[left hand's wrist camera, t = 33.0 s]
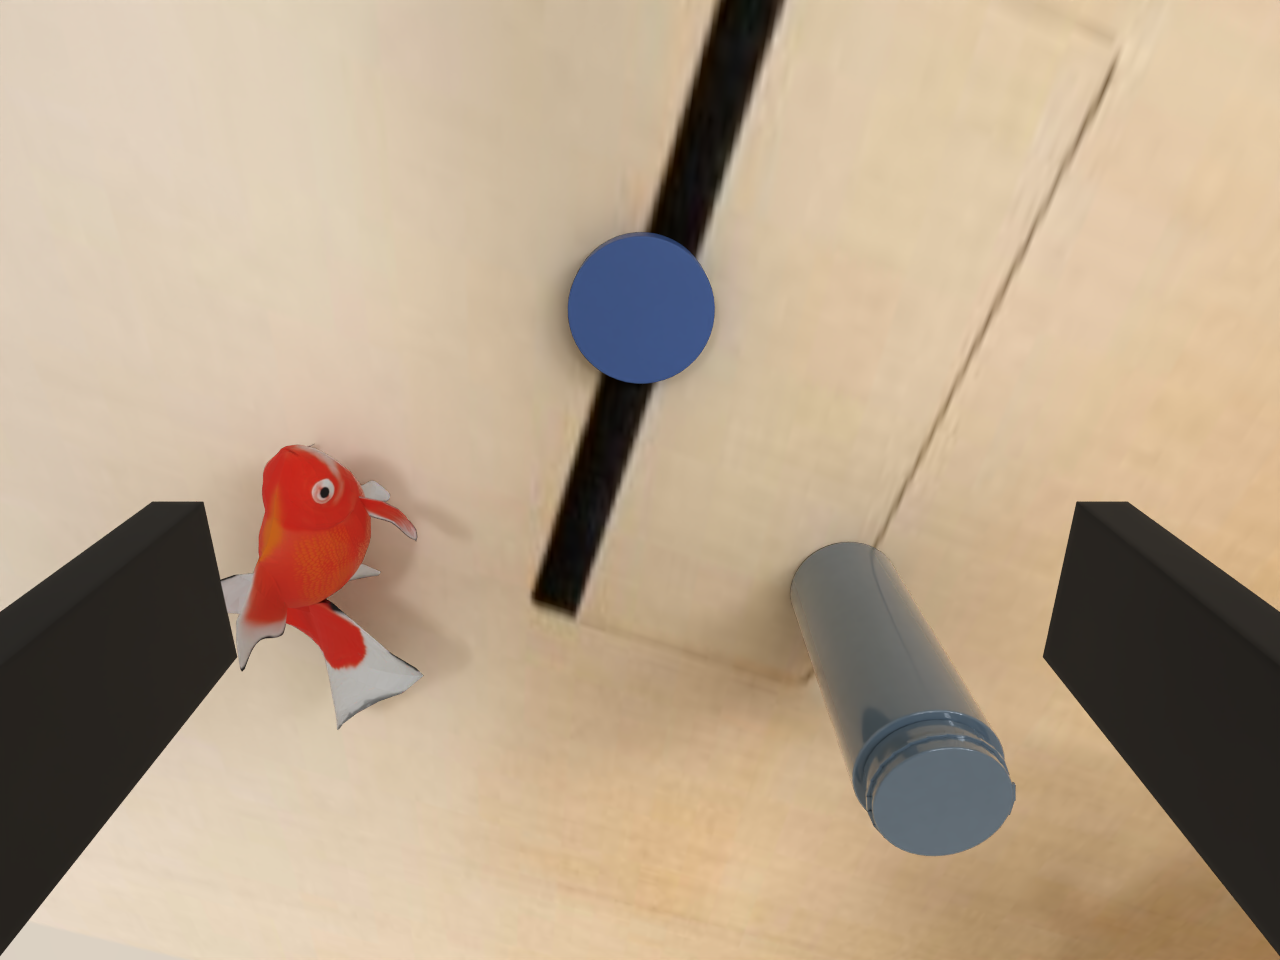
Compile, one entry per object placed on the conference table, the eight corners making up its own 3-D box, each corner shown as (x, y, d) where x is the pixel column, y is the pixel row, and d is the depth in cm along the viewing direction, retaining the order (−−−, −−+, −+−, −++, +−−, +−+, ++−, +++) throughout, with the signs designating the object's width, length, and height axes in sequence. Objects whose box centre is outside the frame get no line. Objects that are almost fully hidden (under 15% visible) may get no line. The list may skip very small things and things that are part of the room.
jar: (794, 641, 43) (867, 872, 29) (785, 549, 41) (858, 750, 27) (899, 628, 42) (1022, 854, 29) (895, 534, 40) (1025, 730, 27)
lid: (588, 385, 38) (585, 395, 36) (556, 248, 35) (552, 253, 34) (721, 359, 37) (725, 368, 36) (698, 218, 35) (701, 221, 33)
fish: (529, 502, 35) (360, 667, 28) (460, 670, 46) (326, 818, 39) (333, 360, 36) (123, 483, 29) (312, 557, 47) (157, 681, 40)
